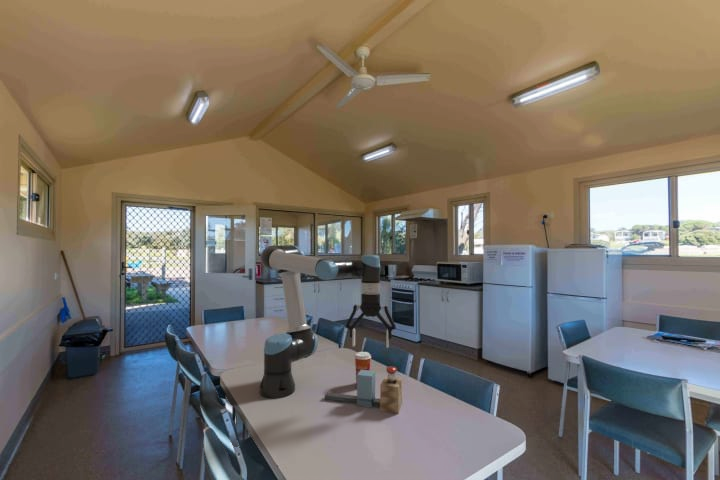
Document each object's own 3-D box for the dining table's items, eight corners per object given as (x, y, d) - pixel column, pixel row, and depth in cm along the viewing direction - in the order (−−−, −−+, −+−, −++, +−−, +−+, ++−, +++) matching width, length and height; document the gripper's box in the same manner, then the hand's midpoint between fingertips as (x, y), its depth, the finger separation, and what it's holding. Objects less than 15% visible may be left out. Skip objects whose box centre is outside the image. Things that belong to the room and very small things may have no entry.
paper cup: (351, 386, 153) (351, 355, 153) (359, 380, 160) (359, 350, 160) (366, 389, 149) (366, 357, 150) (374, 383, 156) (374, 353, 156)
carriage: (356, 405, 133) (357, 374, 134) (360, 398, 139) (361, 369, 140) (371, 407, 132) (371, 376, 132) (375, 400, 138) (375, 371, 138)
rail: (324, 399, 139) (324, 395, 139) (327, 396, 142) (327, 392, 142) (381, 407, 132) (381, 402, 132) (383, 404, 135) (383, 399, 135)
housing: (380, 411, 129) (380, 384, 130) (384, 401, 138) (385, 376, 138) (398, 413, 127) (398, 387, 128) (401, 403, 136) (401, 378, 136)
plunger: (385, 385, 132) (385, 369, 132) (387, 381, 135) (387, 365, 136) (395, 386, 131) (395, 370, 131) (397, 382, 134) (397, 366, 135)
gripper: (338, 293, 134) (338, 347, 133) (401, 294, 131) (401, 350, 130) (341, 291, 141) (341, 342, 141) (401, 292, 139) (401, 344, 138)
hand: (370, 346), depth 136 cm, fingers open, 13 cm apart
